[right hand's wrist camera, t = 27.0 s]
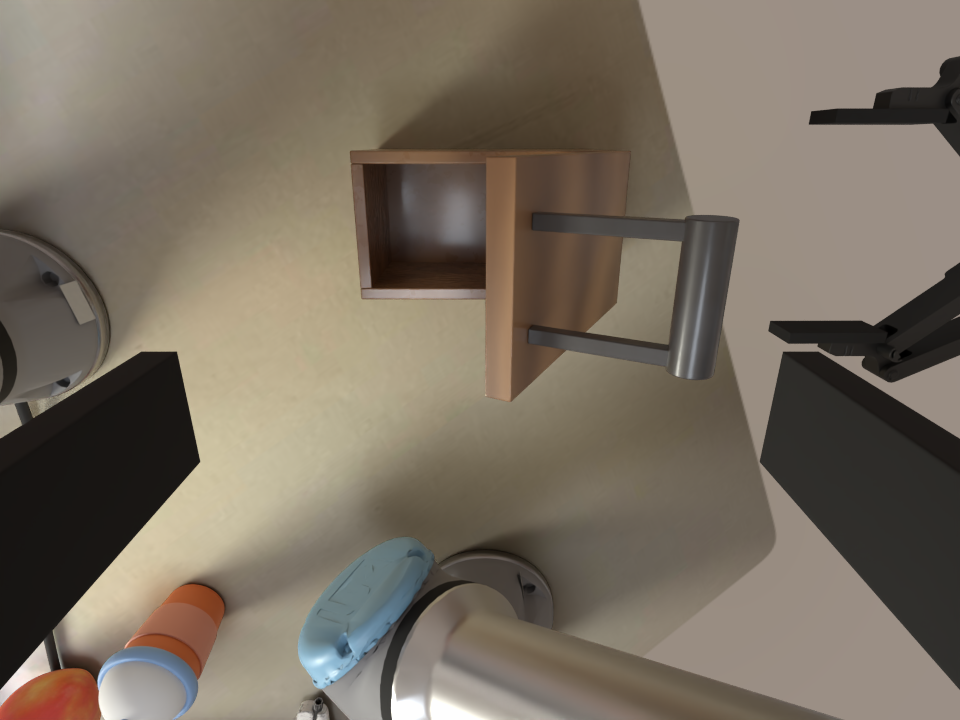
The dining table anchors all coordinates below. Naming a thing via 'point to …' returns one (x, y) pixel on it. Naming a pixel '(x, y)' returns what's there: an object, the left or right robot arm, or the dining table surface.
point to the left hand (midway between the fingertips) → (798, 231)
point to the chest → (424, 220)
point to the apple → (55, 698)
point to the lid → (587, 269)
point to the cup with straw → (162, 659)
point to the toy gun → (313, 710)
